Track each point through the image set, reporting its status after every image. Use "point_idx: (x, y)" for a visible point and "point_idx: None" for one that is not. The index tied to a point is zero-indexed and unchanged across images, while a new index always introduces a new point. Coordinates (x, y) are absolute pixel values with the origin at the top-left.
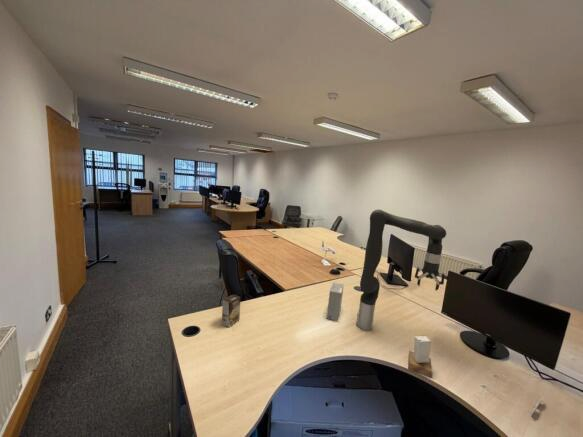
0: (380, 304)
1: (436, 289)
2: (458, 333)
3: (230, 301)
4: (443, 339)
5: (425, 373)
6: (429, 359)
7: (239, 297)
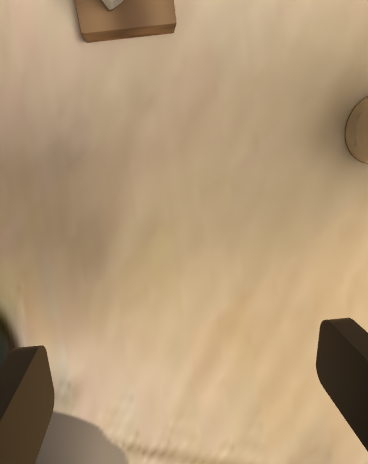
0: None
1: (11, 360)
2: None
3: None
4: (69, 275)
5: None
6: (84, 16)
7: None
